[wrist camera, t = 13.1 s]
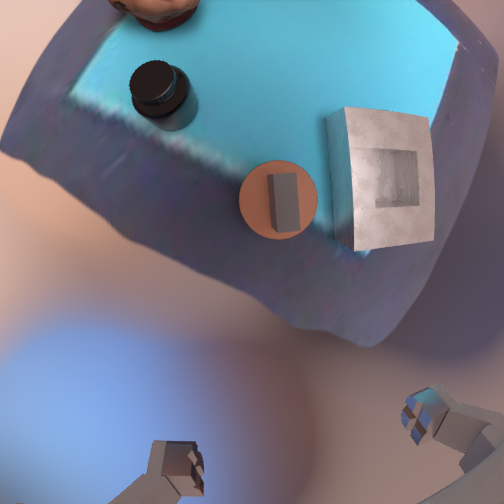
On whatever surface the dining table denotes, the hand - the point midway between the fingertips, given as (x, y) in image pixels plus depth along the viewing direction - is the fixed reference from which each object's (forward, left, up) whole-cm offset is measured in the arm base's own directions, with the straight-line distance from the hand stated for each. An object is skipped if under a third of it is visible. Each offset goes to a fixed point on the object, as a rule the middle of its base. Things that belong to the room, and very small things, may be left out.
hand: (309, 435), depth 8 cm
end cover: (-6, +4, -32) cm, 32 cm away
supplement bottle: (-20, -8, -32) cm, 38 cm away
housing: (-8, +20, -31) cm, 38 cm away
